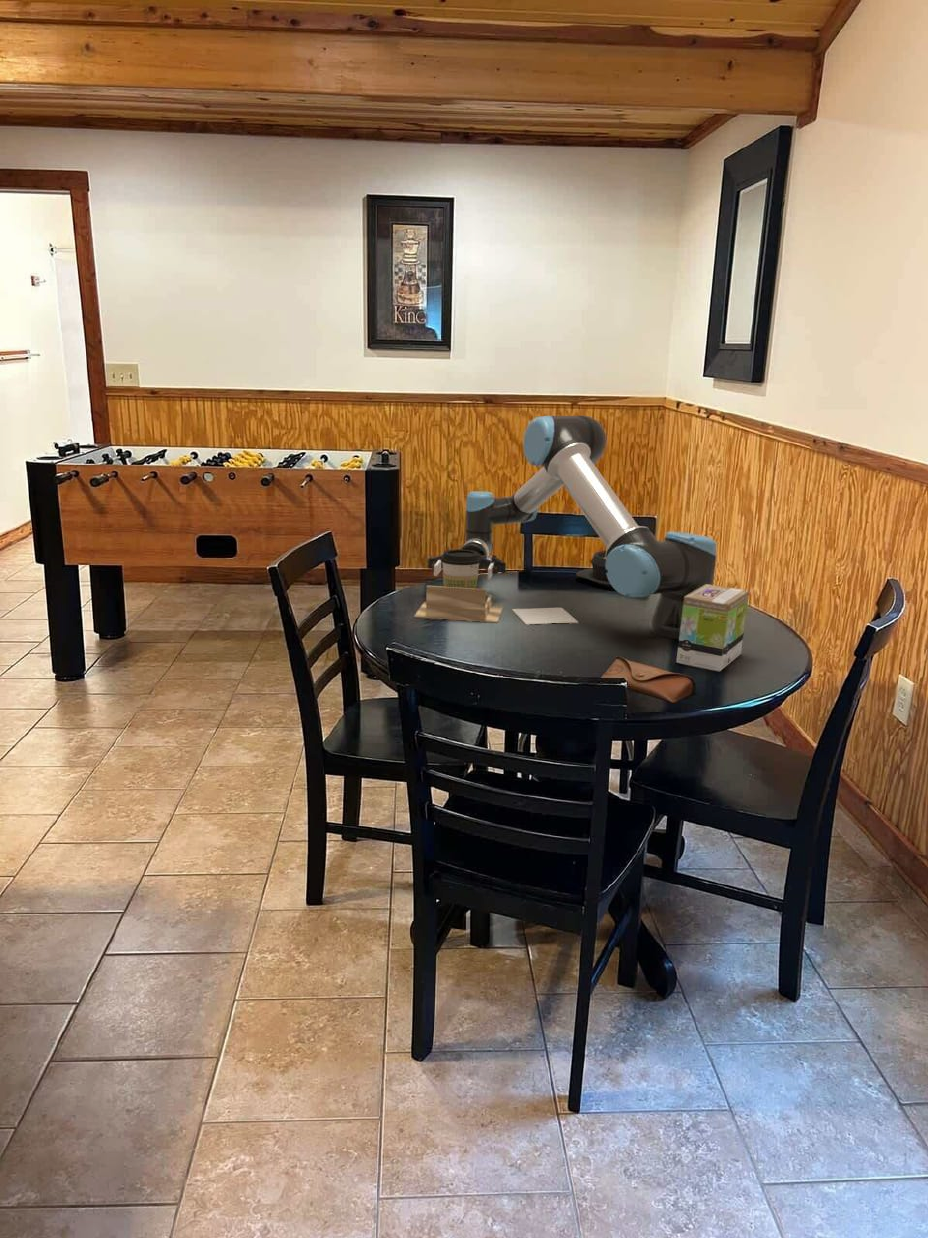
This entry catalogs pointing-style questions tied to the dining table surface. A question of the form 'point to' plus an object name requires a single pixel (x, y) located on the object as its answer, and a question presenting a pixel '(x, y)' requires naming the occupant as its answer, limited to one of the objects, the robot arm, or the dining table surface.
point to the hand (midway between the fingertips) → (462, 572)
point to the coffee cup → (460, 568)
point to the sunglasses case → (652, 680)
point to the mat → (544, 616)
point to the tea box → (712, 627)
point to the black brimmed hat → (597, 570)
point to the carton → (458, 605)
